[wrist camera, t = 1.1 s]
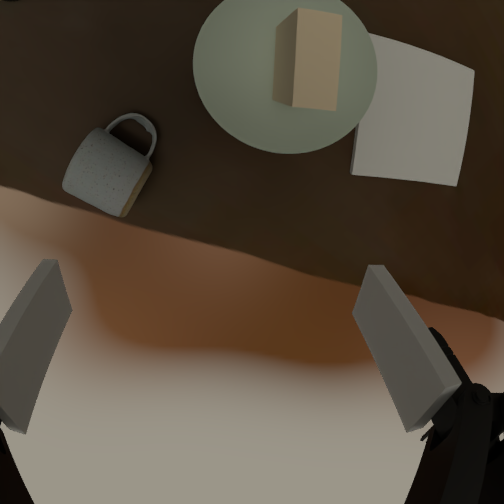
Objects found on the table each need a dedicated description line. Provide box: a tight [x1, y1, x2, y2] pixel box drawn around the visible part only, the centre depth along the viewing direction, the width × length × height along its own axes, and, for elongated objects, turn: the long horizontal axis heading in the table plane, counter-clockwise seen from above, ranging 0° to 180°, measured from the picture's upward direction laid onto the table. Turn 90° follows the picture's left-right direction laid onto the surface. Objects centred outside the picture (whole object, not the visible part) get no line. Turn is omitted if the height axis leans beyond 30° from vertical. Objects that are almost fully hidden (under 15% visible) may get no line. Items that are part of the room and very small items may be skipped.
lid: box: [193, 0, 377, 154], centre depth 21 cm, size 17×17×9 cm
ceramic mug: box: [62, 113, 157, 217], centre depth 30 cm, size 11×8×8 cm
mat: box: [350, 33, 474, 186], centre depth 33 cm, size 18×18×1 cm
